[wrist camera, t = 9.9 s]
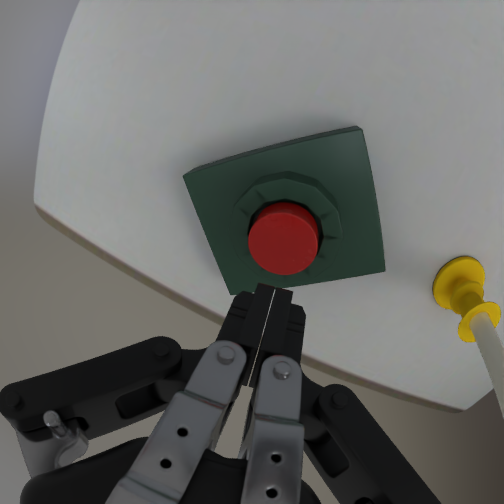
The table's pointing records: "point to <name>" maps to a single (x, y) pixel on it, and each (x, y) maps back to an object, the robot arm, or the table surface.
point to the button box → (297, 192)
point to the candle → (473, 313)
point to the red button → (284, 238)
